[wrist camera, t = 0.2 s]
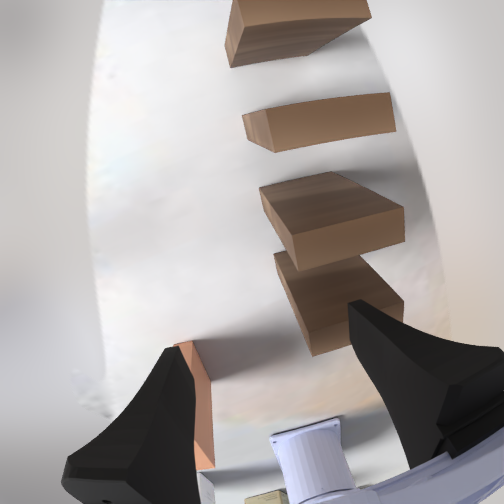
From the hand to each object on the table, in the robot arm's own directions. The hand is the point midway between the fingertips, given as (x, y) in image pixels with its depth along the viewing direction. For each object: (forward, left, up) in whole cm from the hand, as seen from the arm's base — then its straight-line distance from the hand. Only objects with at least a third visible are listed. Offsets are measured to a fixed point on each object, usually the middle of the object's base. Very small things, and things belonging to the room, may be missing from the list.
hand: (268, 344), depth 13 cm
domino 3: (+3, -4, -10) cm, 11 cm away
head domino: (-9, +7, -10) cm, 15 cm away
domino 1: (+13, -4, -10) cm, 17 cm away
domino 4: (-2, -4, -10) cm, 11 cm away
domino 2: (+8, -4, -10) cm, 14 cm away
